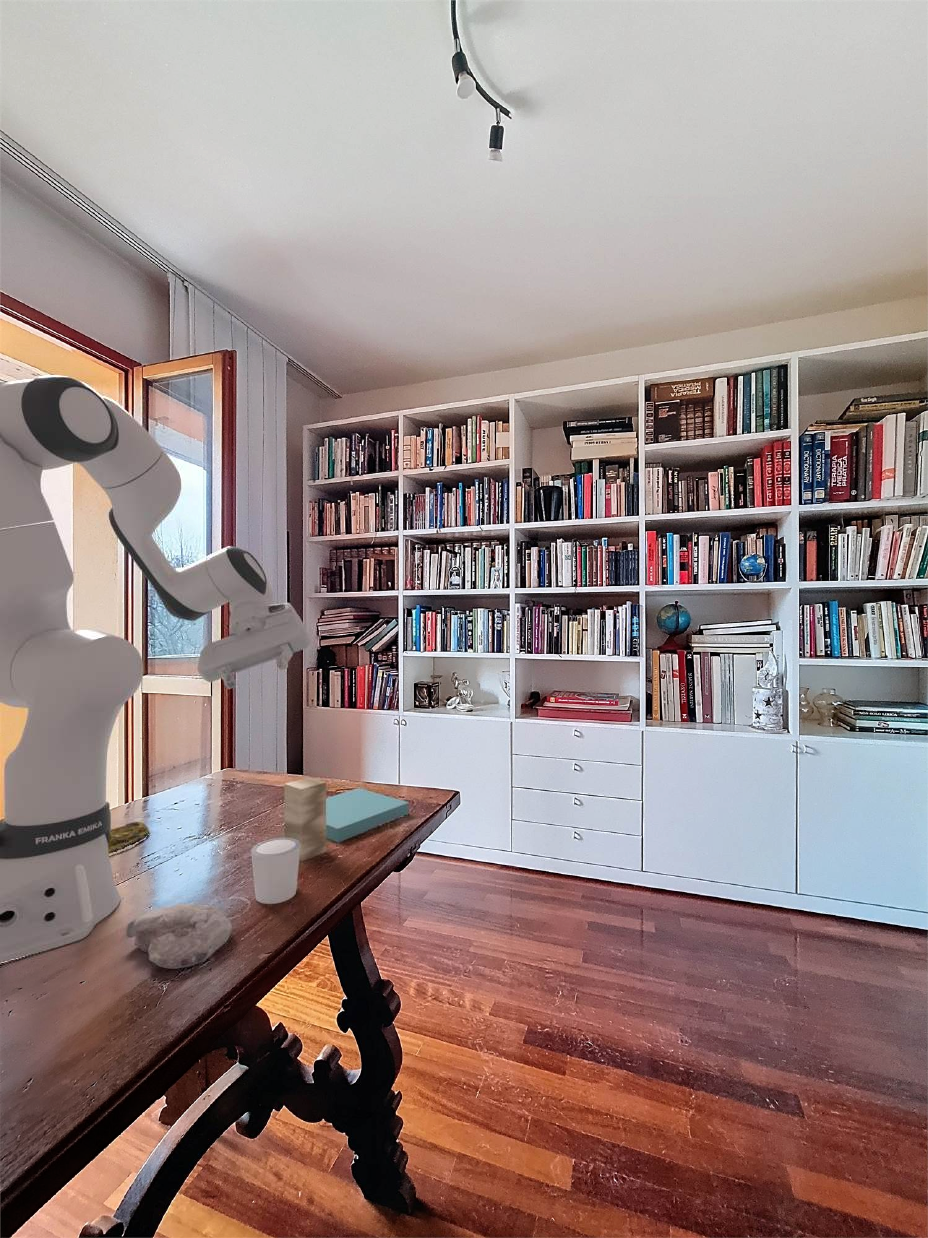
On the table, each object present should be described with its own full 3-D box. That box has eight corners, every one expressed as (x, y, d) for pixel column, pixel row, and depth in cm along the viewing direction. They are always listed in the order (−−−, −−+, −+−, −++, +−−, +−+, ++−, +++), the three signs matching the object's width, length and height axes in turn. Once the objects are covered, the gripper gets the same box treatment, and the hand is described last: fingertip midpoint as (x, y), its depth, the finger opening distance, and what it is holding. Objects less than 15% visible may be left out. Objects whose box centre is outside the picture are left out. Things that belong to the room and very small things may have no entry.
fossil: (248, 905, 68) (178, 954, 59) (248, 936, 68) (178, 991, 59) (182, 881, 73) (107, 924, 63) (182, 911, 73) (108, 958, 64)
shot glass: (291, 906, 75) (291, 856, 75) (242, 906, 75) (242, 856, 75) (307, 882, 81) (306, 836, 81) (262, 882, 82) (262, 836, 82)
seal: (111, 835, 104) (64, 869, 89) (108, 811, 104) (61, 841, 89) (162, 827, 105) (123, 859, 90) (159, 803, 105) (120, 832, 90)
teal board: (337, 842, 96) (337, 828, 96) (288, 822, 106) (288, 809, 106) (409, 814, 110) (408, 802, 110) (359, 799, 120) (359, 788, 120)
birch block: (301, 861, 89) (301, 789, 89) (284, 853, 92) (284, 783, 92) (326, 851, 93) (326, 782, 93) (309, 844, 96) (309, 777, 96)
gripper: (192, 636, 101) (188, 685, 91) (297, 599, 104) (305, 643, 94) (209, 658, 105) (206, 708, 95) (309, 623, 108) (317, 668, 98)
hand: (256, 676), depth 94 cm, fingers open, 8 cm apart
